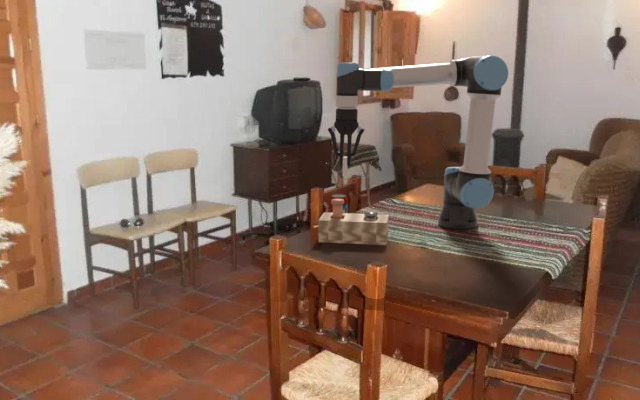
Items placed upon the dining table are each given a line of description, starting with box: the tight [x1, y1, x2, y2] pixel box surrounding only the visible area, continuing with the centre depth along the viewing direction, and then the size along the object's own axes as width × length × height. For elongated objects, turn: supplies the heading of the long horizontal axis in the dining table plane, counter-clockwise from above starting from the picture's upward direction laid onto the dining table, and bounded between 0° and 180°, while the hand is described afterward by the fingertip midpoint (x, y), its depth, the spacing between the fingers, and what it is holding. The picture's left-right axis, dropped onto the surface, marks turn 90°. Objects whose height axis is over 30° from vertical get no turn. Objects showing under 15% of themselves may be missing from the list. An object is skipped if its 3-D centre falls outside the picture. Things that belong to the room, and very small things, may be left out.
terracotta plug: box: [331, 199, 344, 219], centre depth 218 cm, size 5×5×8 cm
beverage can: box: [329, 193, 349, 213], centre depth 236 cm, size 7×7×12 cm
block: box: [317, 211, 390, 246], centre depth 218 cm, size 24×12×8 cm, turn 80°
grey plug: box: [363, 210, 378, 220], centre depth 217 cm, size 5×5×8 cm
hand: (344, 175), depth 214 cm, fingers closed
